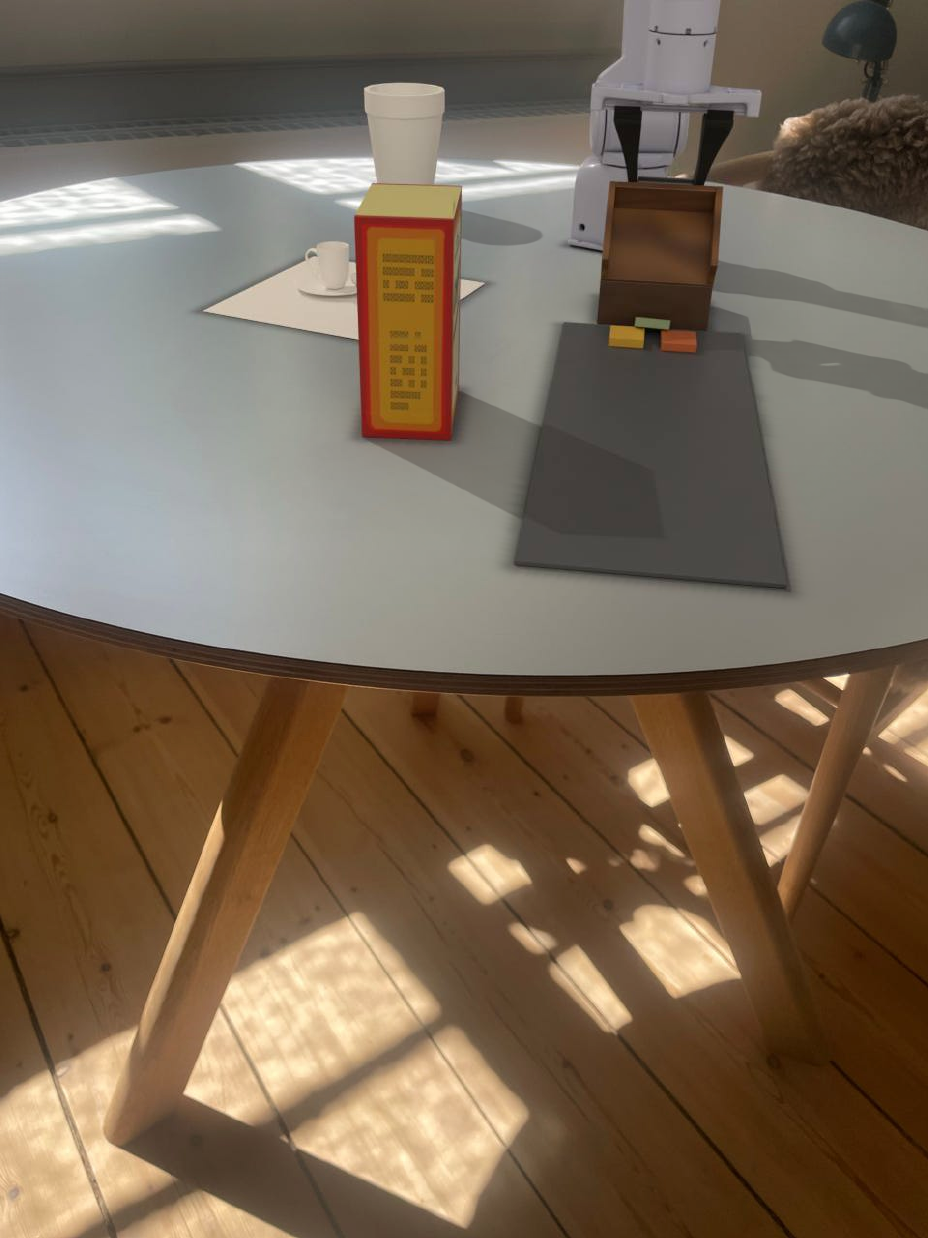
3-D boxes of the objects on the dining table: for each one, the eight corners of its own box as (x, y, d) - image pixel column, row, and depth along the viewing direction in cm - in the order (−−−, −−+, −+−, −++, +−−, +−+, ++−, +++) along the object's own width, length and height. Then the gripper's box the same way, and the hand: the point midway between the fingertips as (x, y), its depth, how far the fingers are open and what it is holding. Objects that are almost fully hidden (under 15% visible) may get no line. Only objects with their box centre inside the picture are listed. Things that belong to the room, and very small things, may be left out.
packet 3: (668, 329, 98) (670, 320, 98) (634, 326, 99) (635, 316, 98) (669, 329, 101) (670, 320, 101) (636, 326, 102) (637, 316, 101)
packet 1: (644, 327, 99) (643, 335, 100) (610, 324, 100) (609, 333, 100) (644, 339, 97) (643, 348, 97) (609, 337, 97) (608, 346, 97)
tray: (713, 286, 100) (718, 265, 97) (600, 280, 101) (601, 258, 98) (719, 188, 102) (724, 164, 99) (609, 183, 103) (611, 159, 100)
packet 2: (695, 331, 98) (694, 340, 99) (661, 329, 99) (660, 338, 99) (696, 344, 96) (695, 352, 96) (661, 341, 96) (660, 350, 97)
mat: (563, 325, 103) (563, 321, 102) (740, 336, 101) (741, 333, 101) (514, 564, 67) (514, 560, 67) (785, 588, 65) (786, 584, 65)
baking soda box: (377, 386, 90) (372, 177, 81) (459, 389, 89) (462, 180, 81) (362, 436, 82) (353, 210, 73) (450, 440, 82) (453, 214, 73)
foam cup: (366, 195, 141) (362, 82, 134) (438, 194, 142) (439, 82, 135) (370, 215, 134) (367, 96, 126) (447, 213, 135) (448, 95, 127)
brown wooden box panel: (706, 330, 102) (713, 286, 100) (596, 323, 103) (600, 280, 101) (703, 302, 109) (709, 260, 106) (600, 296, 110) (604, 254, 107)
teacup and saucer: (397, 283, 112) (396, 241, 110) (357, 306, 106) (356, 262, 104) (321, 270, 115) (319, 230, 113) (279, 292, 109) (275, 250, 107)
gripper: (594, 33, 92) (581, 204, 100) (774, 40, 90) (747, 213, 98) (597, 23, 98) (585, 186, 105) (766, 29, 96) (742, 194, 104)
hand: (663, 198), depth 102 cm, fingers closed on tray, 5 cm apart
